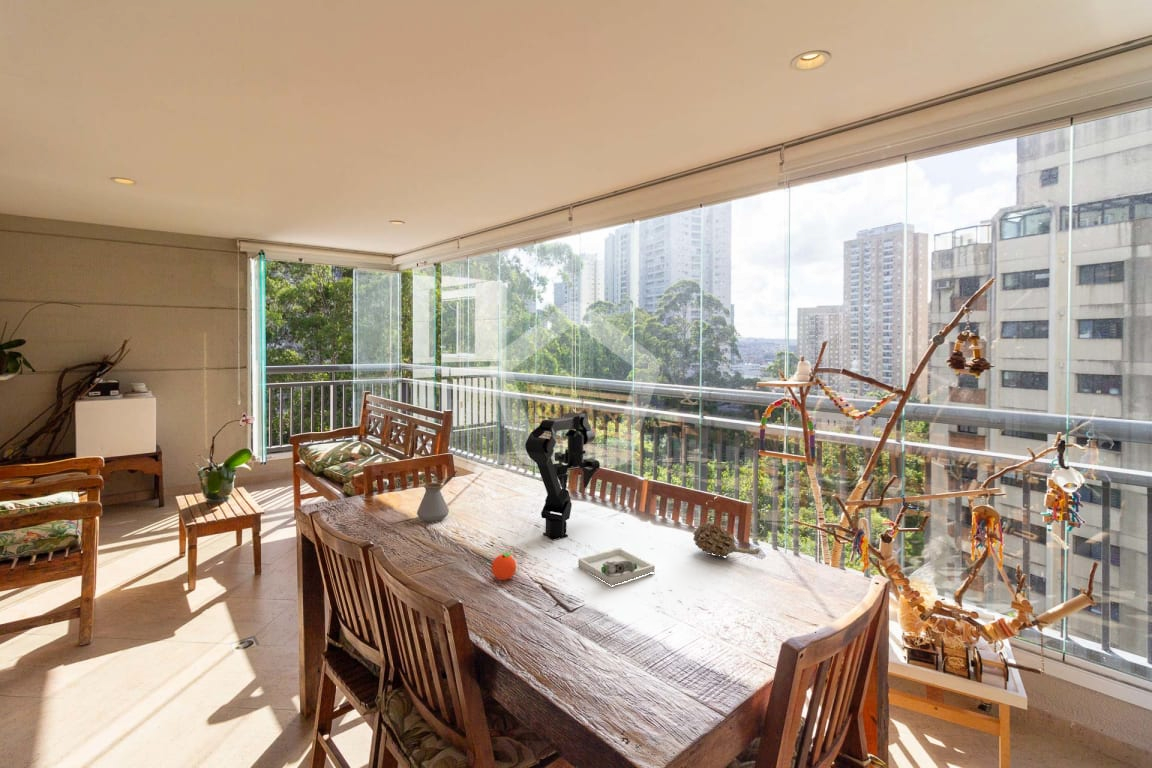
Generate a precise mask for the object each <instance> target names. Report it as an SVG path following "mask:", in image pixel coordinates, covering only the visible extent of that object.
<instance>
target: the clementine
mask: <svg viewBox="0 0 1152 768" xmlns="http://www.w3.org/2000/svg"><path fill="white" fill-rule="evenodd" d="M512 556H513V557H514V558H513V557H512ZM515 558H516V556H515V555H514V554H512V553H505V554H499V555H498V556H496V557H495V558H494V559H493V561H492V564H491V571H492V575H493V576H494V577H495V578H496V579H498V580H500V581H506V580H509V579H511V578H512V577H513V576H514V575H515V573H516V569H517V564H516V563H517V562H516V559H515Z"/></svg>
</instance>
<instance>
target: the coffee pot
mask: <svg viewBox="0 0 1152 768" xmlns="http://www.w3.org/2000/svg"><path fill="white" fill-rule="evenodd" d="M457 474H460V472H459V471H457V470H455V471H453V472H452V473H451V475H449V476H448V477H447V478H446V480H445V481H444V482H443V484H441V483H438V482H431V483H426V484H424V485H423V488H424V489H425V492H424V493H423V497H422V500H421V502H420V504H419V506H418V509H417V512H416V515H417V516H418V518H419V519H420V520H421V521H422V522H424V521H426V522H425V523H428V522H434V523H437V522H436V521H440V520H442V519H443V520H444V519H445V518H447V516H448V514H449V512H450V510H449V508H448V505H447V502H446V501H445V498H444V496H443V494H442V492H441V490H442V489H443V488H444V487H445V486H446V485H447V484H448V483H450V481H451V480H452V479H453V477H455V475H456V476H457ZM443 520H442V521H443ZM440 522H441V521H440Z"/></svg>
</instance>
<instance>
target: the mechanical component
mask: <svg viewBox="0 0 1152 768" xmlns="http://www.w3.org/2000/svg"><path fill="white" fill-rule="evenodd" d="M635 569H637V564H636V563H634V562H632V561H620V562H614V561H613V562H608V561H607V562H606V563H603V567H602V568H601V570H602V573H604V574H605V575H612V574H623V573H624V572H629V571H631V572H632V571H634V570H635Z"/></svg>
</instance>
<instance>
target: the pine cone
mask: <svg viewBox="0 0 1152 768" xmlns="http://www.w3.org/2000/svg"><path fill="white" fill-rule="evenodd" d="M693 535H694V536H693V541H694V543H695V544H694V545H695V546H697V547H698V549H700V550H702V552H703V551H705V552H704V553H705V554H707V553H710V554H711V553H713V554H715V555H714V556H715V557H716V556H719V555H721V556H719V557H722V556H727V555H728V556H729V554H732V553H740V554H746V555H747V554H748V555H757V556H758V555H759V554H760V552H761V550H760V548H759V547H757V548H755V549H745V548H739V547H737V546H736V544H735V536H734V535H733V534H732V533H730V531H729V530H725V528H724V527H721V526H720V525H719V524H715V523H710V522H708V523H705V522H704V523H702V524H699V525H698V527H696V530H695V531H693ZM728 556H727V557H728Z"/></svg>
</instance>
